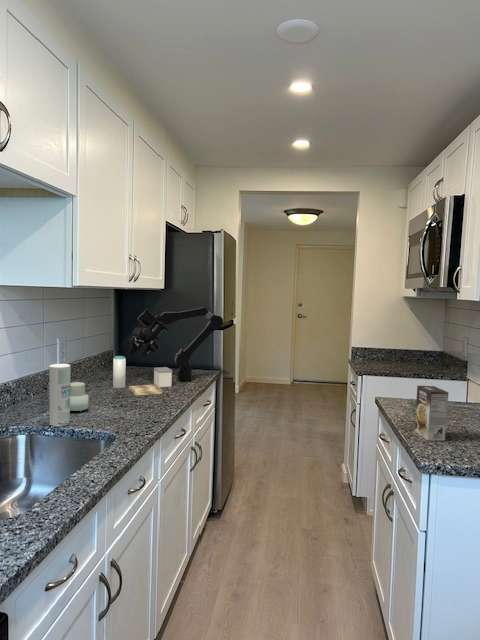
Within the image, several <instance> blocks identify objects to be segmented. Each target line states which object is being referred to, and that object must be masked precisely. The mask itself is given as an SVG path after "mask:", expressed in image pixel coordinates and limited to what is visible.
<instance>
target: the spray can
mask: <svg viewBox="0 0 480 640" xmlns="http://www.w3.org/2000/svg"><path fill="white" fill-rule="evenodd" d="M48 375H49V376H48V379H49V381H48V385H49V386H48V387H49V388H48V393H49V398H48V399H49V400H48V401H49V404H48V405H49V418H48V419H49V426H50V425H53V426H61V425H67V424H69V423H70V421H71V420H70V419H71V416H70V415H71V412H70V383H71V364H68V363H53V364H50V365H49V367H48ZM69 425H70V424H69Z"/></svg>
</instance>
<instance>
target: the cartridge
mask: <svg viewBox="0 0 480 640" xmlns="http://www.w3.org/2000/svg"><path fill="white" fill-rule="evenodd" d="M112 361H113V362H112V363H113V364H112V388H113V389H123V388H126V368H127V367H126V365H127V362H126V361H127V359H126V357H125V356H123V355H116V356H114V357H113V360H112Z"/></svg>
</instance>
